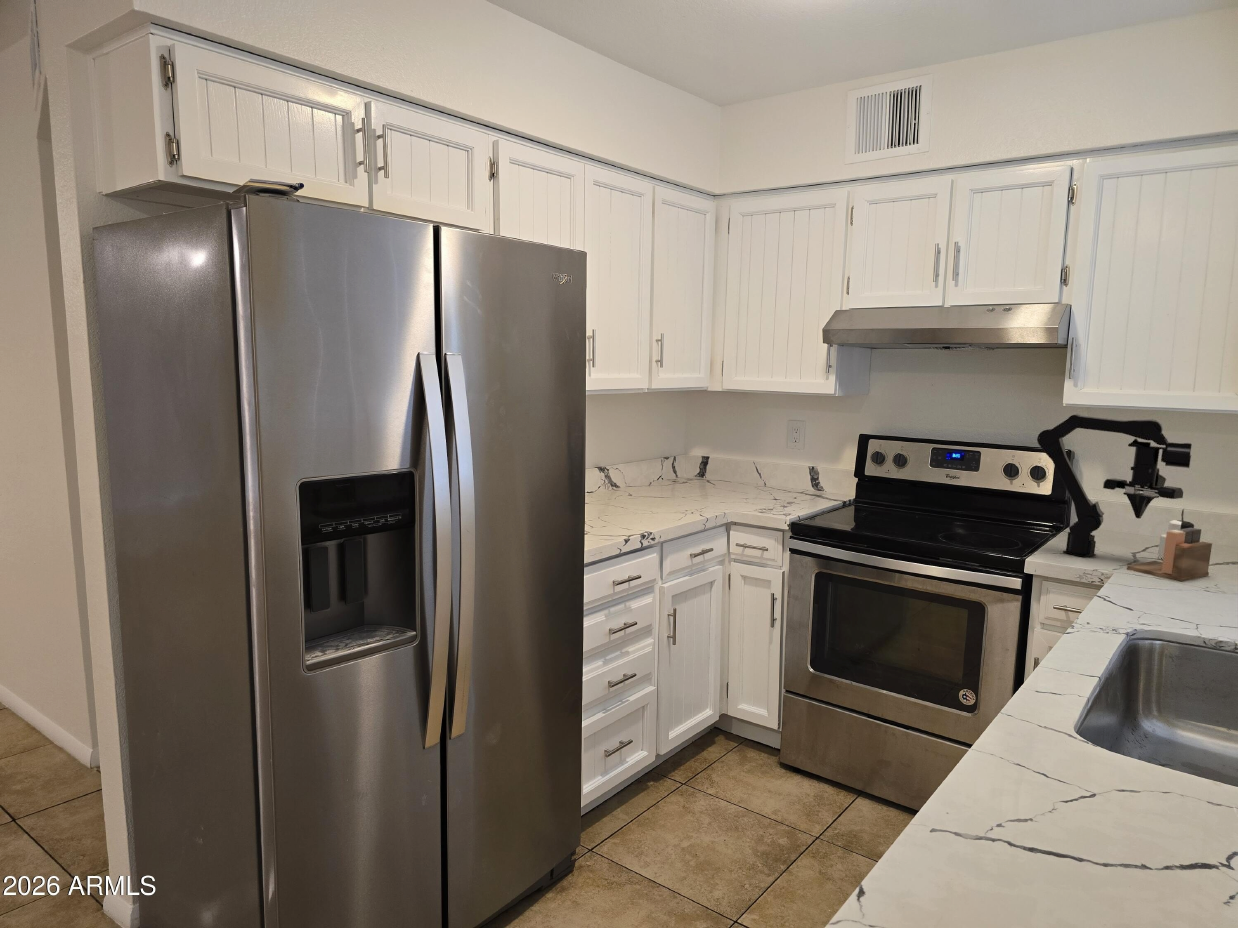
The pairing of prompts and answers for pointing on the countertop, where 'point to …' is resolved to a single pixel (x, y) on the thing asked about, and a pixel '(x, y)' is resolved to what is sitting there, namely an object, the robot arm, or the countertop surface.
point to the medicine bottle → (1172, 526)
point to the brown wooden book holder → (1182, 559)
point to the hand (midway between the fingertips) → (1138, 518)
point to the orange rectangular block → (1171, 549)
